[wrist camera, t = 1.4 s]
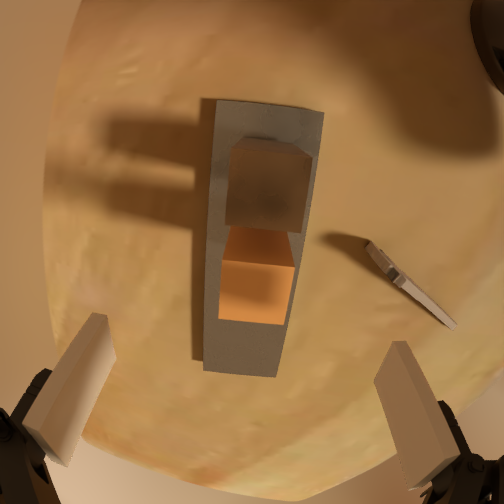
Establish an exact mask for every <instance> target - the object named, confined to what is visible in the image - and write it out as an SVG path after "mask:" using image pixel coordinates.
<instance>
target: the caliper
mask: <svg viewBox="0 0 504 504" xmlns="http://www.w3.org/2000/svg"><path fill="white" fill-rule="evenodd" d="M365 249H366V251H367V252H368V254H369V255H370V256H371V258H372V259H373V260H374V261H375V263H376V264H377V265H378V266H379V268H380V269H381V270H382V271H383V272H384V273H385V274H386V275H387V276H388V277H389V278H390V280H391V281H392V282H393V283H395V284H396V285H397V286H398V287H399V288H401V287H402V288H403V289H404V290H405V291H406V292H408V293H409V294H410V295H411V296H412V297H414V298H415V299H416V300H418V301H419V302H420V303H422V304H423V305H424V306H425V307H426V308H427V309H429V310H430V311H431V312H432V313H433V314H434V315H435V316H437V317H438V318H439V319H440V320H441V321H442V322H443V323H444V324H446V325H447V326H448V327H449V328H450V329H451V330H454V329H455V328H456V327H457V326H458V325H457V324H456V323H455V322H454V321H453V319H452V318H451V317H450V316H449V315H448V314H447V313H446V312H445V311H444V310H443V309H442V308H440V307H439V306H438V305H437V304H436V303H435V302H434V301H433V300H432V299H431V298H430V297H429V296H428V295H427V294H426V293H425V292H424V291H423V290H421V289H420V288H419V287H418V286H417V285H416V284H415V283H414V282H413V281H412V279H411V278H409V277H408V276H407V275H406V274H405V273H404V272H403V271H401V270H400V269H399V268H398V267H397V266H396V265H395V264H394V263H393V262H392V261H391V259H390V258H389V257H388V256H387V255H386V254H385V253H384V252H383V251H382V250H381V249H380V250H379V249H378V248H377V246H376V245H375V244H374V243H373V242H372V241H370V243H369V244H368V245H367V246H366V247H365Z"/></svg>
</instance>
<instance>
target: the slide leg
mask: <svg viewBox="0 0 504 504" xmlns="http://www.w3.org/2000/svg"><path fill="white" fill-rule="evenodd" d="M294 270H295V265H294V261H293V256H292V251H291V247H290V243H289V238H288V234H287V232H284V231H275V230H266V229H257V228H247V227H238V226H231V227H230V231H229V235H228V239H227V242H226V246H225V250H224V254H223V258H222V267H221V282H220V299H219V317H218V319H226V320H235V321H245V322H256V323H266V324H278V325H284V321H285V316H286V311H287V306H288V301H289V296H290V291H291V286H292V281H293V275H294Z"/></svg>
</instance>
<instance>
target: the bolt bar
mask: <svg viewBox="0 0 504 504" xmlns="http://www.w3.org/2000/svg"><path fill="white" fill-rule="evenodd" d="M323 119H324V113H323V112H318V111H312V110H306V109H299V108H292V107H285V106H277V105H269V104H260V103H250V102H239V101H225V100H217V103H216V113H215V124H214V135H213V147H212V159H211V172H210V186H209V202H208V218H207V237H206V260H205V287H204V331H203V370H204V371H212V372H220V373H229V374H239V375H250V376H262V377H276V375H277V371H278V366H279V362H280V358H281V353H282V349H283V345H284V340H285V336H286V331H287V326H288V322H289V317H290V312H291V308H292V303H293V298H294V293H295V288H296V283H297V278H298V273H299V268H300V263H301V257H302V252H303V247H304V241H305V236H306V230H307V224H308V219H309V213H310V207H311V201H312V195H313V188H314V182H315V176H316V169H317V163H318V156H319V149H320V142H321V134H322V127H323ZM231 226H238V227H247V228H257V229H266V230H275V231H284V232H287V234H288V238H289V243H290V247H291V251H292V256H293V261H294V265H295V270H294V275H293V281H292V286H291V291H290V296H289V301H288V306H287V311H286V316H285V321H284V325H278V324H266V323H256V322H245V321H235V320H226V319H218V317H219V299H220V282H221V267H222V258H223V254H224V250H225V246H226V242H227V239H228V235H229V231H230V227H231Z"/></svg>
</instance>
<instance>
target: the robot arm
mask: <svg viewBox="0 0 504 504" xmlns="http://www.w3.org/2000/svg"><path fill="white" fill-rule="evenodd" d="M471 27H472V33H473V37H474V41H475V44H476V47H477V50H478V52H479V55H480V57H481V60H482V62H483V64H484V66H485V68H486V70H487V71H488V73H489V75H490V76H491V78H492V80H493V81H494V83H495V84H496V85H497V87H498V88H499V89H500V90H501V91H502V93H503V94H504V0H474V2H473V5H472V8H471ZM115 360H116V355H115V351H114V347H113V342H112V338H111V333H110V328H109V324H108V318H107V315H103V314H98V313H92V314H91V315H90V317H89V318H88V320H87V321H86V322H85V324H84V325H83V327H82V328H81V330H80V331H79V332H78V334H77V335H76V337H75V338H74V340H73V341H72V343H71V344H70V346H69V347H68V349H67V350H66V352H65V353H64V355H63V356H62V358H61V359H60V361H59V362H58V364H57V365H56V367H55V368H54V370H53V371H52V370H49V369H46V368H45V369H44V370H42V371H41V372H39V373H38V374H37V375H36V376H35V377H34V379H33V380H32V382H31V384H30V386H29V387H28V388H27V390H26V393H24V394H23V396H22V398H21V399H20V401H19V403H18V405H17V406H16V407H15V409H14V411H13V412H12V414H11V416H10V417H9V415H8V414H7V413H6V412H5V410H4V409H3V408H0V504H61V503H60V500H59V498H58V495H57V493H56V490H55V488H54V485H53V483H52V480H51V477H50V475H49V472H48V469H47V466H46V463H45V461H44V458H45V455H47V456H48V457H49V458H50V459H51V460H52V461H53V462H56V463H58V464H61V465H63V466H65V467H68V465H69V462H70V460H71V457H72V455H73V452H74V450H75V448H76V445H77V442H78V441H79V438H80V436H81V434H82V431H83V429H84V427H85V424H86V422H87V420H88V418H89V415H90V413H91V411H92V409H93V406H94V404H95V402H96V400H97V398H98V396H99V393H100V391H101V389H102V387H103V385H104V383H105V381H106V379H107V377H108V375H109V373H110V370H111V368H112V366H113V364H114V362H115ZM374 384H375V386H376V389H377V392H378V395H379V398H380V401H381V403H382V406H383V409H384V412H385V415H386V418H387V421H388V424H389V427H390V431H391V434H392V437H393V440H394V443H395V446H396V450H397V453H398V456H399V460H400V463H401V466H402V470H403V473H404V476H405V480H406V484H407V488H408V490H412V489H416V488H420V487H423V486H425V485H426V484H427V483H428V482H430V481H431V482H432V486H431V487H429V488H428V489H427V490H426V491H424V492H423V493H422V494H421V495H420V497H423V496H424V495H426V494H427V495H426V497H425V499H424V501H423V503H422V504H504V455H503V456H502V457H500V458H499V459H498V460H484V459H483V458H482V457H481V456H479V455H478V454H474V453H473V454H472V453H471V451H470V449H469V447H468V444H467V443H466V440H465V438H464V435H463V433H462V431H461V429H460V427H459V426H458V423H457V420H456V419H455V416H454V414H453V412H452V410H451V408H450V407H449V406H448V405H447V404H446V403H445V402H444V401H443V400H442V401H437V400H436V398H435V396H434V394H433V392H432V390H431V388H430V386H429V384H428V382H427V380H426V378H425V376H424V374H423V372H422V370H421V368H420V366H419V364H418V362H417V361H416V359H415V357H414V355H413V353H412V351H411V349H410V347H409V346H408V344H407V342H406V341H393V342H392V344H391V346H390V348H389V350H388V353H387V355H386V357H385V359H384V361H383V363H382V365H381V367H380V369H379V371H378V373H377V375H376V377H375V379H374ZM491 494H492V496H491V500H490V495H491Z"/></svg>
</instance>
